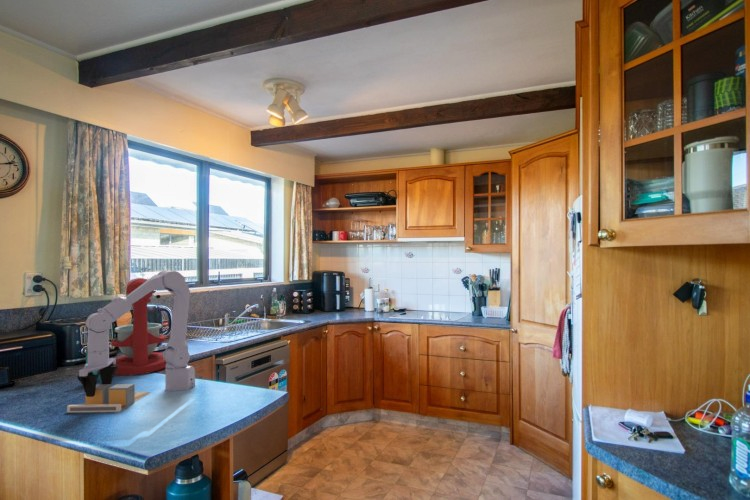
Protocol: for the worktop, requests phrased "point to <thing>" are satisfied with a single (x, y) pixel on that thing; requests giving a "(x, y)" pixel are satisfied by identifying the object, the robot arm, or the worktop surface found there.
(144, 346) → the stand mixer
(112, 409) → the rail
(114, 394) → the faced box
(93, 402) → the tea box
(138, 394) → the shelf board
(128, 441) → the worktop surface
